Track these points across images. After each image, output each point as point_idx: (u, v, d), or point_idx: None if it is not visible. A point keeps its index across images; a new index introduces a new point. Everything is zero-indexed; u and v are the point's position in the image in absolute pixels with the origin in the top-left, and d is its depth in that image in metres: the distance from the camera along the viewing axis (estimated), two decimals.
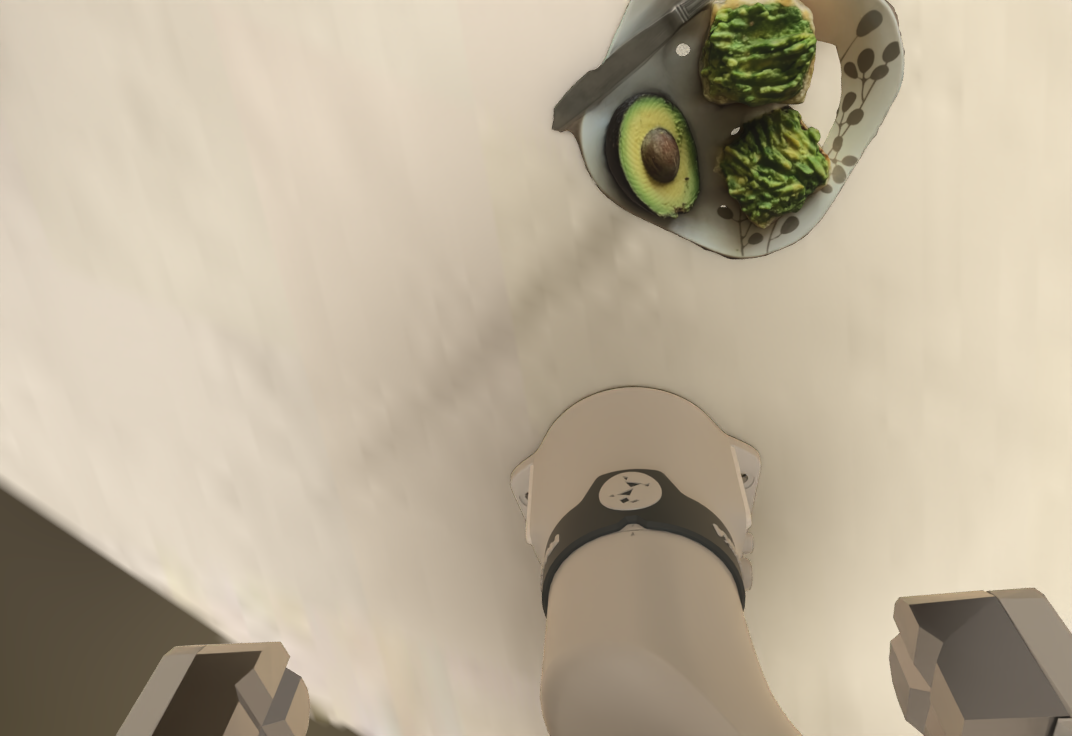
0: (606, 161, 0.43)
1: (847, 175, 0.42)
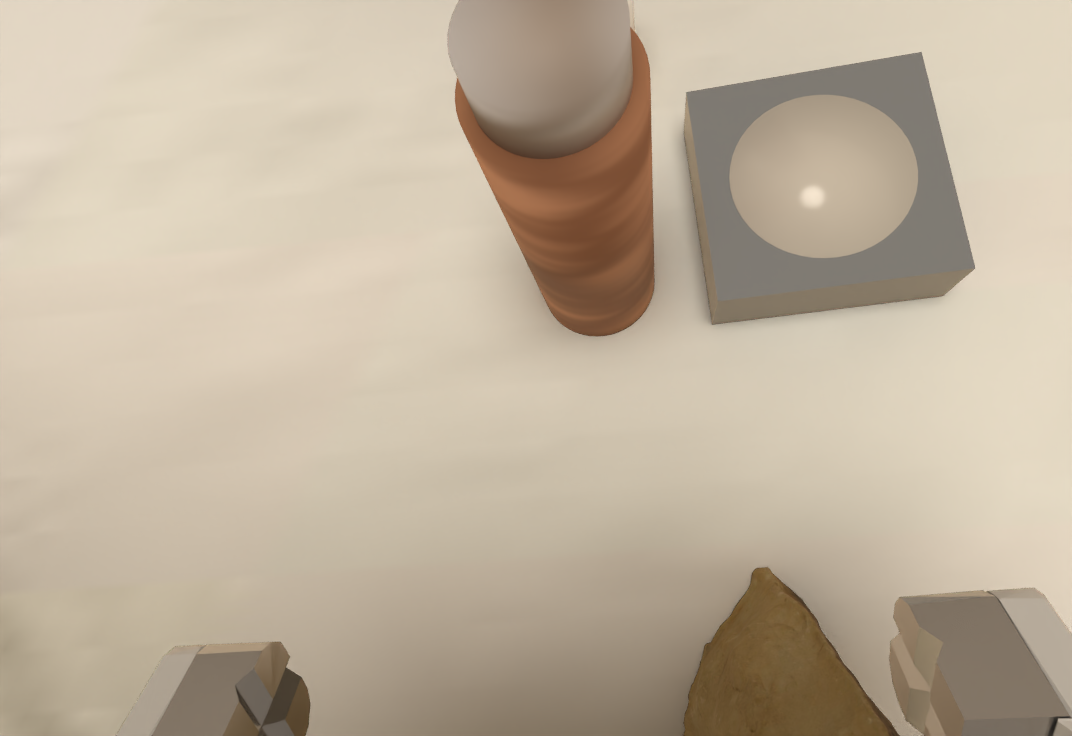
0: None
1: None
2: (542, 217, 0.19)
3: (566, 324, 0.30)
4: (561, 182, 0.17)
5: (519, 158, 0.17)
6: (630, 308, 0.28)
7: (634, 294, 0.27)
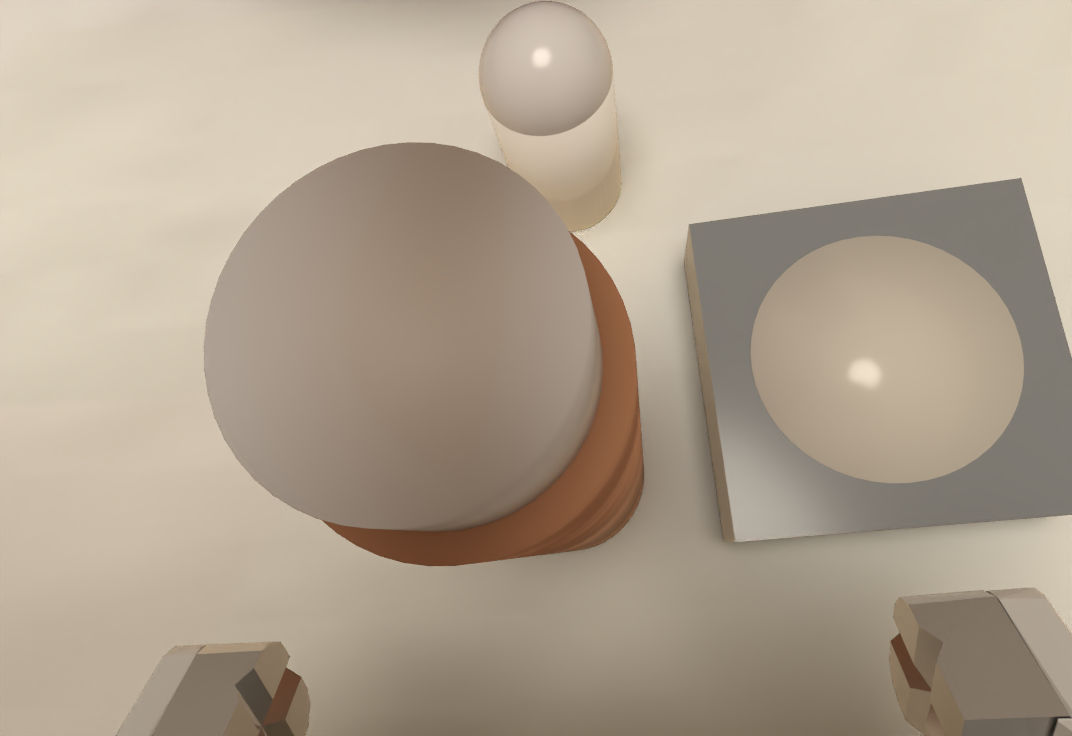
0: None
1: None
2: None
3: None
4: (463, 564, 0.09)
5: None
6: (610, 534, 0.20)
7: (615, 527, 0.19)
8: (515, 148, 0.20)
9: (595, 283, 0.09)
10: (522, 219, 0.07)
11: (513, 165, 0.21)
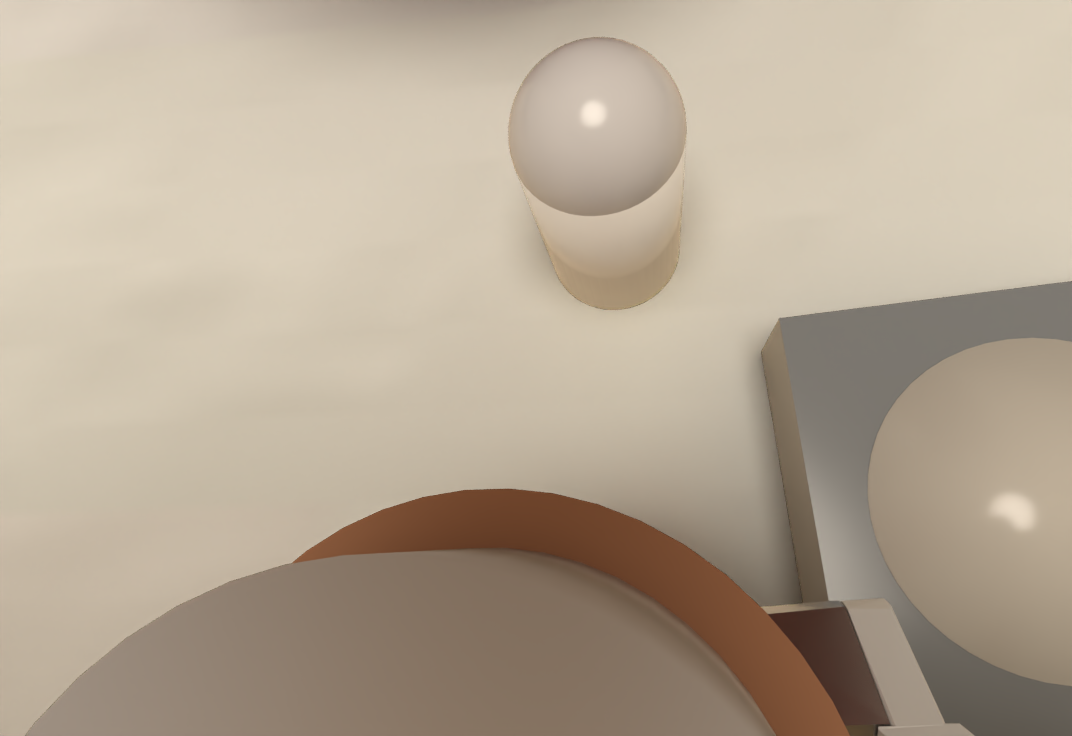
0: None
1: None
2: None
3: None
4: None
5: None
6: None
7: None
8: (556, 225, 0.15)
9: (797, 709, 0.04)
10: None
11: (550, 241, 0.17)
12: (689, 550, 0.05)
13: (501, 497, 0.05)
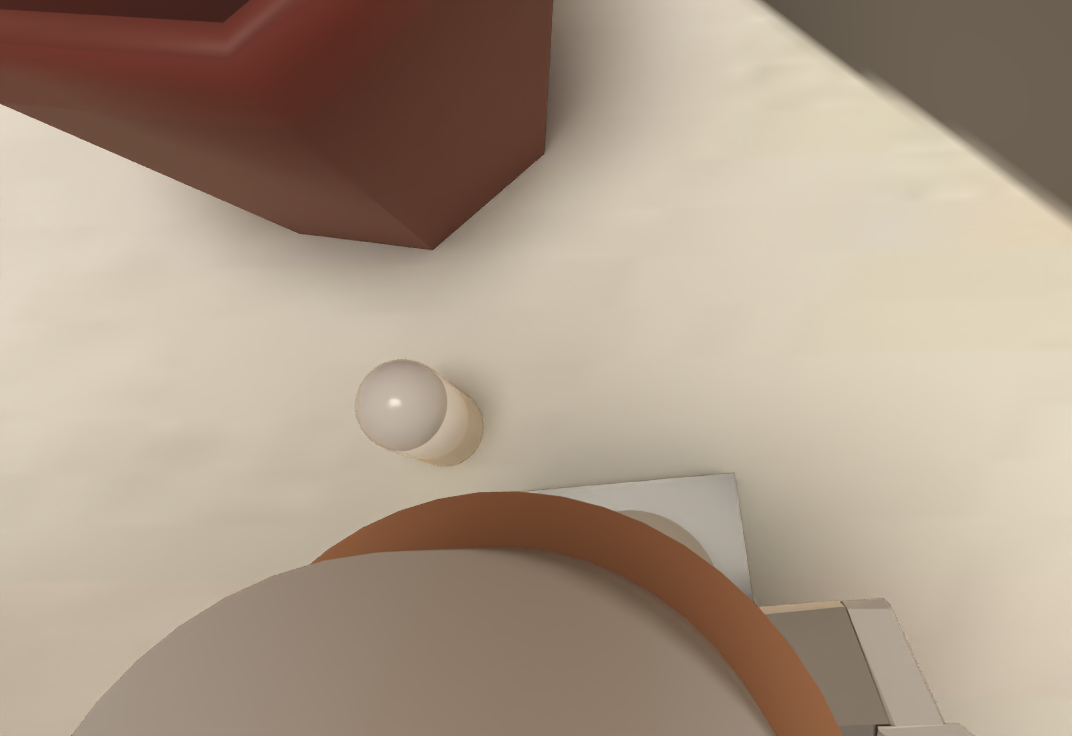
0: None
1: None
2: None
3: None
4: None
5: None
6: None
7: None
8: None
9: (788, 698, 0.05)
10: None
11: None
12: (688, 550, 0.05)
13: (511, 499, 0.05)
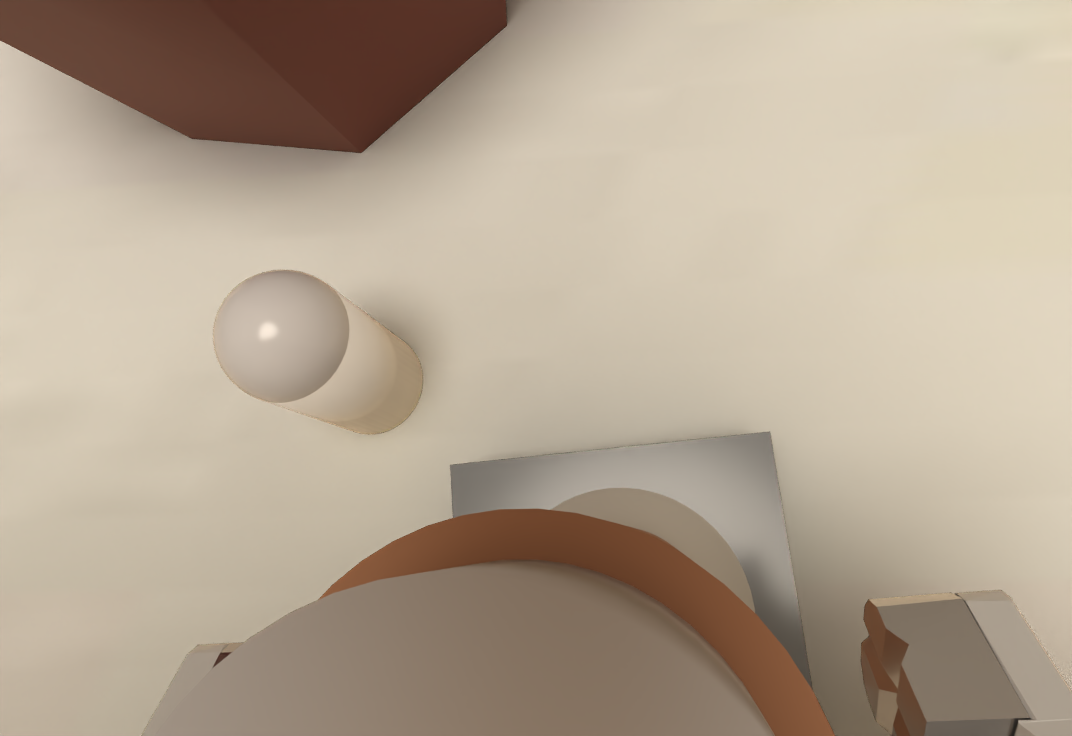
0: None
1: None
2: None
3: None
4: None
5: None
6: None
7: None
8: None
9: (783, 697, 0.05)
10: None
11: None
12: (693, 562, 0.05)
13: (531, 516, 0.06)
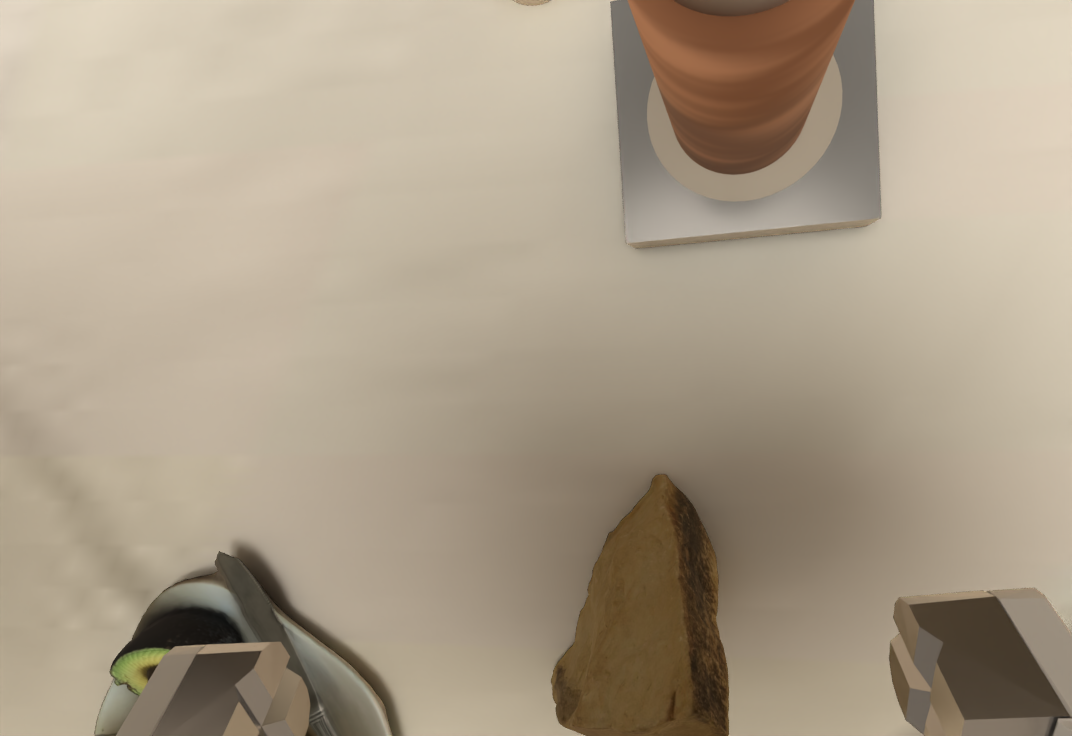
0: (182, 609, 0.36)
1: None
2: (708, 79, 0.15)
3: (698, 161, 0.26)
4: (749, 46, 0.13)
5: (695, 15, 0.13)
6: (781, 147, 0.23)
7: (790, 134, 0.22)
8: None
9: None
10: None
11: None
12: None
13: None
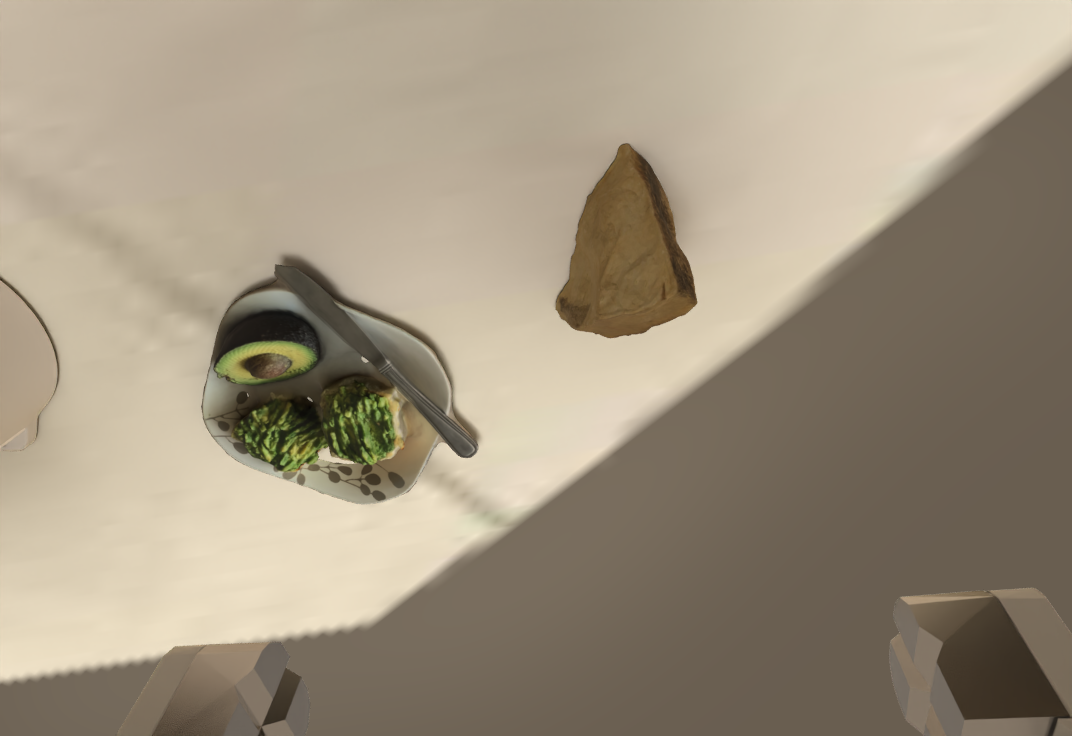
0: (256, 313, 0.46)
1: (289, 480, 0.54)
2: None
3: None
4: None
5: None
6: None
7: None
8: None
9: None
10: None
11: None
12: None
13: None
